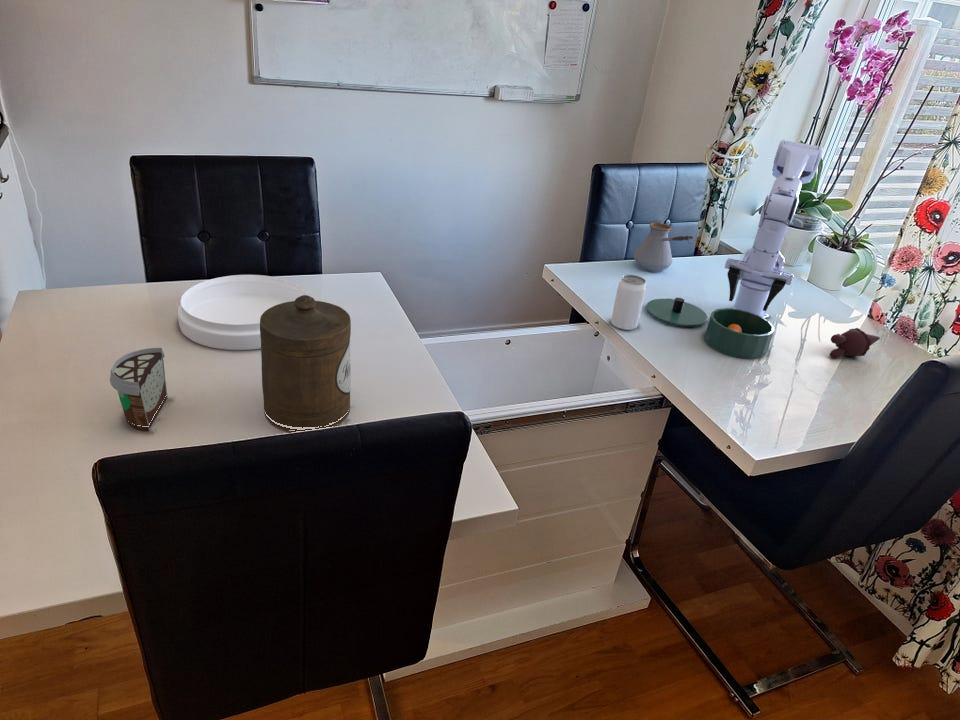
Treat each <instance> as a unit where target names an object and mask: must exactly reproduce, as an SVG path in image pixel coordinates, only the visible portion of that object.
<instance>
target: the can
mask: <svg viewBox="0 0 960 720" xmlns="http://www.w3.org/2000/svg"><path fill="white" fill-rule="evenodd" d="M646 283H647V281H646V279H645V278H643V277H641V276H639V275H635V274H625V275H622V276H621V279H620V281H619V282H618V286H617V289H616V295H615V300H614V304H613V309H612V313H611V319H610V323H611V325H612V326H613V327H614V328H616V329H619V330H623V331H632V330H635V329H636V328H638V325H639V320H640V317H641V312H642V308H643V305H644V304H643V303H644V299H645V296H646V291H647V285H646Z"/></svg>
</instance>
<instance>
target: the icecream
mask: <svg viewBox="0 0 960 720" xmlns="http://www.w3.org/2000/svg"><path fill="white" fill-rule="evenodd" d="M880 339H881V337H880V336H877V335H873V334H870V333H866V332H865V331H863V330H861V329H860V328H858V327H856V328H850V329H849V330H846V331H845V332H843V333H841V334H840V333H836V334H833V335H832V336H831V337H830V342H831V343H832V344H835V346H836V347H837V348H834V349H832V350H831V351H830V353H829V357H830V358H832V359H838V358H840V357H842V356H843V355H846V356H849V357H853V358H854V357H864V356H865V355H866V354H867V352H869V350H870V348H871V346H872V345H874V344H875V343H876V342H878V341H879V340H880Z"/></svg>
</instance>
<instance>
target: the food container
mask: <svg viewBox="0 0 960 720" xmlns="http://www.w3.org/2000/svg"><path fill="white" fill-rule="evenodd" d="M164 358H165V352H164V350H163V347H147V348H142V349H137V350H133V351H132V352H131V351H130V352H128V353H126V354H124V355H122V356H121V357H119V358H118V359H116V360H115V362H114V363H113V364H112V367H111V369H110V373H109V383H110V386H111V387H112V388H113V389H114V390H116V391H117V394H118V397H119V401H120V404H121V408H122V411H123V414H124V418H125V421H126V424H127V425H128V426H129V427H130V428H132V429H133V430H136V431H140V432H146V433H147V432H149V433H150V432H151V430H152V428H153V427H154V426H155V424H156V422H157V420H158V418H159V416H160V415H161V413H162V411H163V410H164V408H165V406H166V405H167V402H168V401H169V397H168V390H167V380H166V372H165V362H164V361H165V360H164ZM166 395H167V396H166ZM165 396H166V397H165ZM164 398H165V399H164ZM163 400H164V401H163ZM162 401H163V403H162ZM161 403H162V404H161ZM160 405H161V406H160ZM159 406H160V408H159ZM158 408H159V409H158ZM157 410H158V411H157ZM156 411H157V413H156ZM155 413H156V414H155ZM154 414H155V416H154ZM153 416H154V418H153ZM152 418H153V420H152ZM151 420H152V421H151ZM128 421H129V422H128ZM150 422H151V423H150ZM132 423H133V424H132ZM149 423H150V425H149ZM134 424H135V425H134ZM137 425H141V426H137ZM142 426H149V427H142Z"/></svg>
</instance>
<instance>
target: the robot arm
mask: <svg viewBox="0 0 960 720" xmlns="http://www.w3.org/2000/svg"><path fill="white" fill-rule="evenodd" d="M777 146H778V147H777V149H776V152H775V155H774V160H773V165H772V169H771V170H772V176H773V177H774V178H775V180H774V182H773V184H772V187H771V189H770V192H769V194H767V195H766V197H765V199H764V201H763V205H762V208H761V211H760V218H759V221H758V225H757V227H758V228H757V231H756V234H755V237H754V240H753V244H752V246H751V248H749V249H747V250H746V251H745V252H744V255H743V258H742V260H740V259H734V258H731V257H728V258H727V259H726V261H725V265H724V269H727V270H728V271H727V279H728V284H729V285H728V286H729V297H728V301H729V302H733V301H734V303H733V307H732V309H739V310H743V311H747V312H751V313H754V314H756V315H759V316H761V317H763V318H765V319H767V318H769V317H770V315H769V314H768V313H767V311H768V309H769V306H770V305H771V303H772V302H773V300H774V299H775V297H776V296H777V295H778V294H779V293H780V292H781V291H782V290H784V288H785V286H786V285H787V286H792V283H793V279H794V277H795V275H794V274H792V273H788V272H786V271H783V269H784V265H785V262H786V260H785V257H784V255H783V254H782V253H781V249H782V246H783V242H784V240H785V236H786V234H787V231H788V228H789V226H790V225H791V224H792V222H793V220H794V217H795V213H796V211H797V208H798V205H799V197H800V196H799V195H800V192H801V189H802V185H804V184H808V183H811V181H812V180H813V179H814V177H815V174H816V172H817V170H818V167H819V165H820V162H821V158H822V155H823V153H824V150H825V149H824V147H823V145H814V144H809V143H803V142H797V141H791V140H786V139H784V138H783V139H782V140H780V141H779V144H778V145H777ZM788 221H789V222H788ZM739 282H740V283H739ZM738 285H739V287H738ZM737 288H738V289H737ZM737 290H738V291H737ZM736 292H737V294H736ZM735 296H736V297H735ZM734 299H735V300H734Z"/></svg>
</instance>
